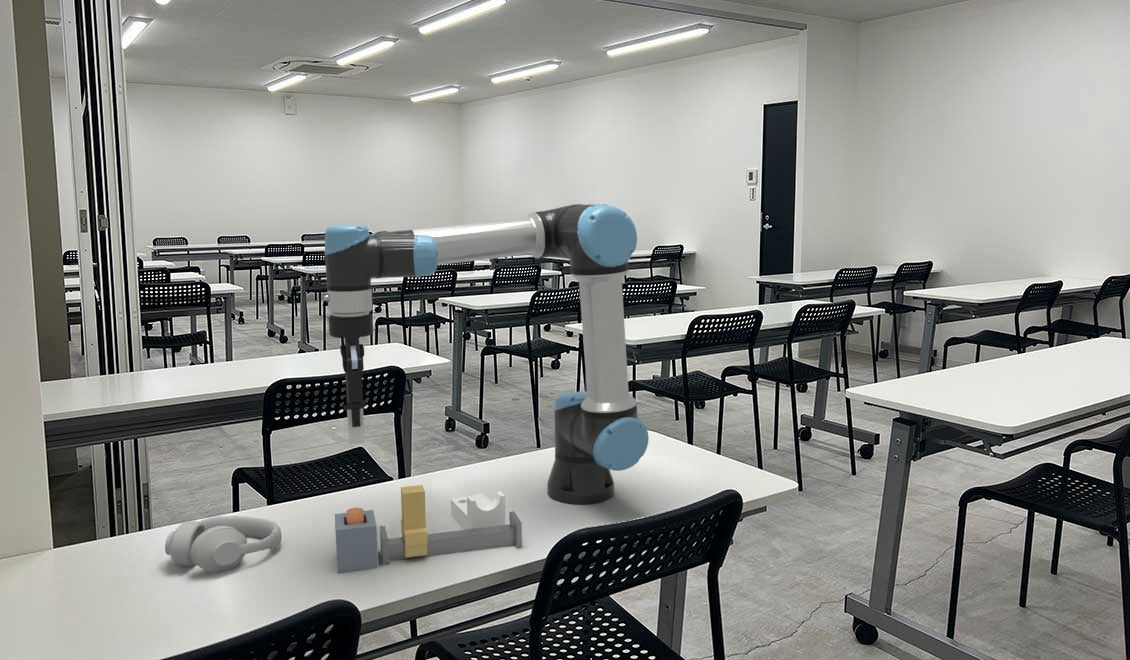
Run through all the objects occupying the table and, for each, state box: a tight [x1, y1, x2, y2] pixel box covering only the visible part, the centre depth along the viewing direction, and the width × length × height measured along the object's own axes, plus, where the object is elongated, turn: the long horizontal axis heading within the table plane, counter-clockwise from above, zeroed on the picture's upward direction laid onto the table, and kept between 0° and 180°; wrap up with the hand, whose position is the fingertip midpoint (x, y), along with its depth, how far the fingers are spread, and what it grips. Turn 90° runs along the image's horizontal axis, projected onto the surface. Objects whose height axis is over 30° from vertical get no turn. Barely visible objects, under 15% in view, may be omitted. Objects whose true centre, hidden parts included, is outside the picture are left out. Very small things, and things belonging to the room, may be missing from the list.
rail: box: [379, 510, 523, 566], centre depth 158 cm, size 26×6×5 cm, turn 107°
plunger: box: [345, 507, 364, 525], centre depth 153 cm, size 3×3×5 cm
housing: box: [334, 509, 379, 574], centre depth 153 cm, size 7×8×8 cm
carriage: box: [400, 484, 428, 557], centre depth 156 cm, size 4×7×12 cm, turn 17°
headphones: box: [164, 515, 283, 574], centre depth 156 cm, size 18×8×20 cm
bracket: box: [450, 491, 506, 530], centre depth 172 cm, size 13×7×8 cm, turn 26°
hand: (356, 442), depth 151 cm, fingers closed
